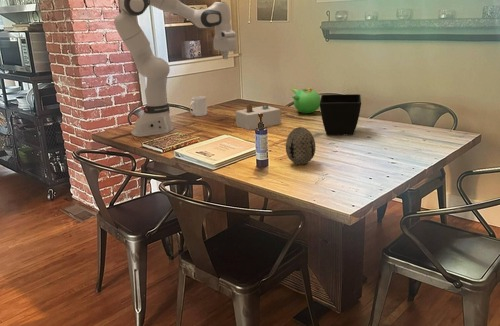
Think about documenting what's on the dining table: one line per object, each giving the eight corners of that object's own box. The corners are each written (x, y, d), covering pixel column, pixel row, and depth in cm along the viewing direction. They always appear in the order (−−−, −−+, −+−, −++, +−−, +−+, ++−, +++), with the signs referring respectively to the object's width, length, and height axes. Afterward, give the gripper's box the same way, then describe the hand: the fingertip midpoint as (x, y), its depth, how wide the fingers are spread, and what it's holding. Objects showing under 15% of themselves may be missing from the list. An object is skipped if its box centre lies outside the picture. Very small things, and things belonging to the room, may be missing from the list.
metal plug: (265, 123, 248) (264, 106, 245) (262, 122, 250) (261, 105, 247) (270, 122, 249) (269, 105, 246) (267, 121, 252) (266, 105, 249)
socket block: (249, 130, 237) (248, 115, 234) (236, 125, 249) (235, 111, 246) (281, 123, 246) (280, 109, 244) (267, 119, 258) (266, 105, 255)
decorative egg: (321, 162, 183) (321, 125, 178) (304, 170, 174) (303, 132, 170) (297, 157, 190) (296, 122, 185) (280, 165, 182) (278, 128, 177)
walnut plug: (249, 122, 242) (248, 106, 239) (246, 121, 245) (245, 105, 242) (254, 121, 244) (253, 105, 241) (251, 120, 246) (250, 104, 243)
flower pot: (360, 137, 213) (361, 101, 208) (319, 137, 217) (319, 102, 212) (359, 127, 231) (360, 94, 225) (321, 127, 234) (321, 94, 229)
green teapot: (322, 115, 259) (322, 89, 255) (293, 116, 260) (292, 91, 255) (318, 108, 276) (318, 84, 272) (290, 110, 277) (290, 86, 272)
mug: (186, 116, 277) (184, 99, 274) (201, 112, 285) (199, 95, 282) (195, 118, 272) (193, 100, 268) (210, 114, 280) (208, 96, 276)
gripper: (209, 33, 255) (211, 58, 259) (226, 33, 238) (228, 60, 242) (219, 32, 258) (221, 57, 262) (237, 32, 241) (239, 59, 245)
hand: (225, 59), depth 252 cm, fingers closed
